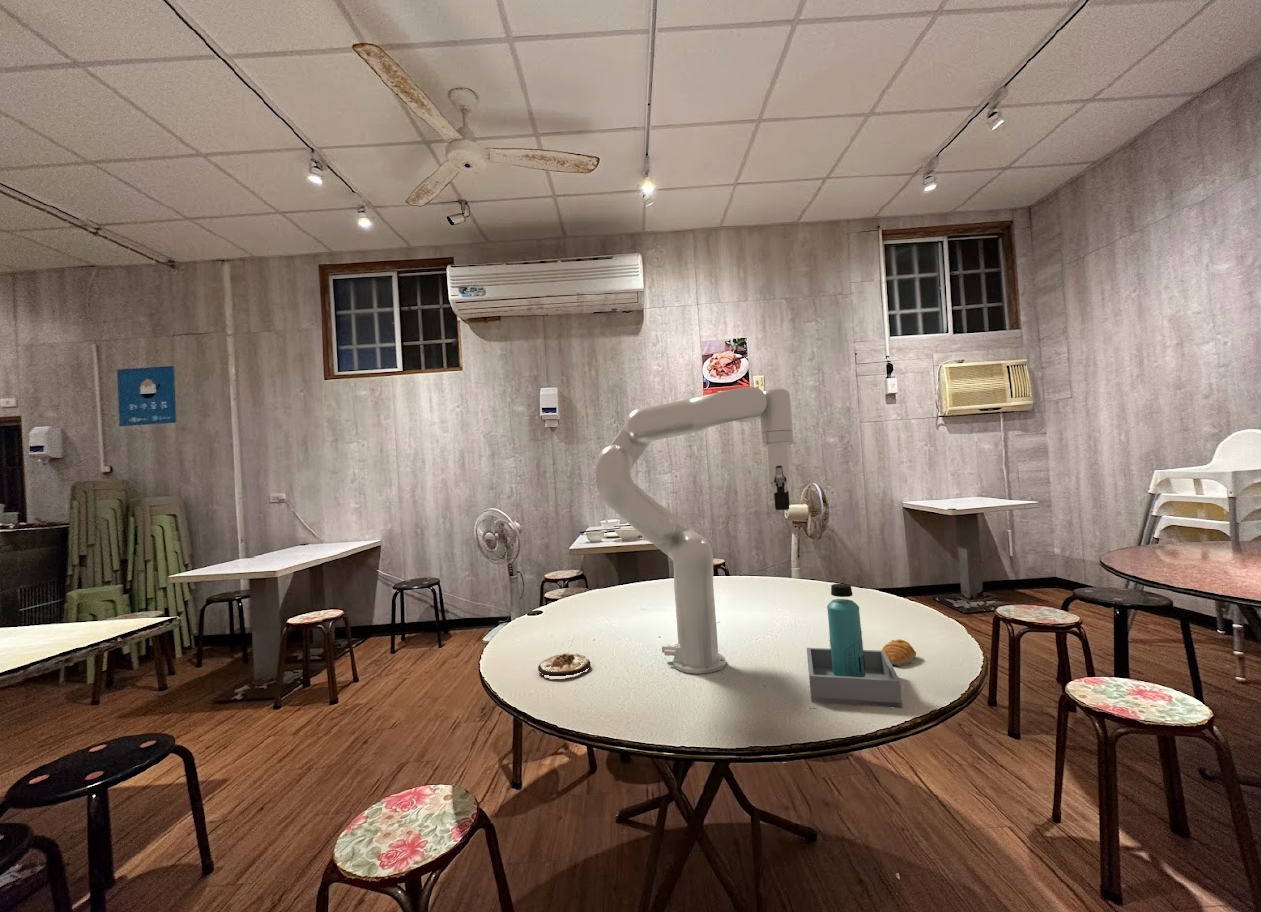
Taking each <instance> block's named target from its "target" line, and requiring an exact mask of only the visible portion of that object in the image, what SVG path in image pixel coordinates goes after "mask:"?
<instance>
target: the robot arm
mask: <svg viewBox="0 0 1261 912" xmlns="http://www.w3.org/2000/svg"><path fill="white" fill-rule="evenodd" d="M792 419H793V417H792V405H791V394H790V392H789V391H788V390H787V389H786V388H773V389H772V388H771V389H766V390H764V391H763V390H762V389H760V388H758V387H755V386H744V387H738V388H734V389H729V390H722V391H718V392H714V393H710V394H705V395H702V396H701V395H700V396H696V397H692V398H688V399H682V400H677V401H672V402H667V403H661V404H657V405H656V404H655V405H651V406H645V407H640V408H636V409H634V410H633V411H631V412H630V413H629V414H628V415H627V418H626V420H625V423H624V424H623V425H622V428H621V429H620V430H619V432H618V433H617V435H616V436H615V437H614V439H613V440H612V441H611V442H610V444H609V445H608V446H606V447H605V448H603V449H602V450H601V451H600V453H599V454H598V458H597V460H596V465H595V472H594V473H595V475H594V477H595V484H596V488H597V491H598V494H599V495H600V497H601V498H602V500H603V502H604V503H605V504H606V505H607V506H608V507H609V508H610V509H611V510H612V511H613V512H614V513H615V514H617V515H618V516H619V517H620V518H621V519H622V520H624V521H625V522H626V523H627V524H628V525H629V526H631V527H632V528H633V529H634V530H635V531H637V532H638V533H639V534H640V535H641V537H642V538H643V539H644V540H646V541H647V542H649V543H651V544H653V546H655V547H657V548H658V549H659V550H660V551H661V552H662V553H664V554H665V555H667V557H669V559H671V561H672V562H673V564H672V565H673V588H674V589H673V590H674V602H675V615H676V616H675V617H676V629H677V643H674V645H670V644H662V645H661V652H662V654H664V656H665V657H666V656H668V657H670V656H672V657H673V660H672V663H673V667H674V668H675V669H676V670H678V671H680V672H683V673H686V674H687V673H688V674H694V675H695V674H696V675H697V674H698V675H699V674H701V675H702V674H711V673H714V672H717V671H719V670H721V669H723V668H724V667H725V666H726V657H725V656H724V655H722V653H719V645H718V643H719V642H718V630H717V628H718V627H717V617H716V615H717V614H716V604H715V603H716V602H715V591H714V590H715V589H714V553H713V549H712V547H711V544H710V543H709V542H708V540H707V539H706V538H705V537H704V536H703V535H701V534H699V533H697V532H696V531H695V530H694V529H692V528H691V527H690V526H688V525H687V524H686V523H685V522H684V521H683V520H681V519H680V518H679V517H677V516H676V515H675V514H674V513H673V512H672V511H671V510H670V509H669V508H667V507H666V506H664V505H662V504H660V503H659V502H658V501H656V500H655V499H654V498H653V497H651V496H650V495H648V494H647V492H645V491H644V490H643V489H642V488H641V487H640V486H638V484H637V483H635V481H634V480H633V478H632V476H631V470H632V468H633V467H634V466H635V464H636V463H637V462H638V460H639V459H640V457H642V455H643V454H644V452H645V451H646V450H647V448H648V447H649V445H650V444H651V443H652V442H653V441H654V442H655V441H660V440H664V439H668V438H673V437H679V436H686V435H691V434H694V433H695V434H696V433H698V432H699V433H700V432H702V431H704V430H706V429H708V428H712V427H715V426H718V425H723V424H726V423H732V422H737V423H746V422H751V421H757V420H759V421H760V430H761V431H760V432H761V443H762V444H761V446H762V447H766V465H767V476H768V477H767V478H768V479H767V480H768V482H767V483H768V485H769V486H772V485H773V484H774V492H773V497H774V498H773V499H774V509H775V511H787V510H790V493H789V490H788V485H789V484H790V480H791V461H790V445H795V444H794V443H795V442H794V432H793V430H794V429H793V420H792Z"/></svg>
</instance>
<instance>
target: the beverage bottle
mask: <svg viewBox="0 0 1261 912" xmlns="http://www.w3.org/2000/svg"><path fill="white" fill-rule="evenodd" d="M830 589H831V590H830V595H831V596H834V597H838V598H836V599H832V600H831V601H830V602H829V603H828V604H827V606H826V609H827V616H828V620H827V621H828V630H829V631H828V632H829V633H828V634H829V647H830V649H831V650H830V652H831V660H832V662H831V663H832V664H831V665H832V668H833V673H834V675H835V676H848V677H865V670H866V667H865V663H864V659H865V658H864V655H863V650H864V640H863V635H862V634H863V633H862V624H861V616H860V607H859V605H858V604H857V603H856V602H855V601H854V600H851V599H846V598H848V597H850V598H851V597H853V589H852V585H850V584H847V583H834V584H832V585H831V586H830Z"/></svg>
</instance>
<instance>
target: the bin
mask: <svg viewBox="0 0 1261 912" xmlns="http://www.w3.org/2000/svg"><path fill="white" fill-rule="evenodd" d="M830 650H831V648H824V647H821V648H820V647H806V655H807V669H808V670H807V671H808V678H809V687H810V689H809V691H810V699H811V703H822V704H834V705H835V704H836V705H849V706H850V705H853V706H863V705H864V706H865V707H877V706H878V708H879V707H880V708H881V707H882V708H891V707H894V708H893V709H903V699H902V698H903V697H902V688H901V687H902V685H901V680H900V678H899V676H898V674H897V672H896V670H895V668H894V667H893V666H894V665H893V664H891V663H890V661H889V659H888V657H887V655H886V653H885V651H882V650H876V649H873V650H872V649H871V650H870V649H863V655H864V658H865V659H864V663H865V667H866V670H865V677H848V676H835V675H834V673H833V668H832V665H831V664H832V663H831V662H832V660H831V652H830Z"/></svg>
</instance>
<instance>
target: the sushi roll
mask: <svg viewBox="0 0 1261 912" xmlns="http://www.w3.org/2000/svg"><path fill="white" fill-rule="evenodd" d="M581 660H582V661H581ZM549 663H550V664H549ZM581 663H584V664H582V666H580V665H581ZM550 666H551V668H550V669H545V668H546V667H550ZM589 667H590V668H591V661H590V659H589V658H588V657H587V656H586V655H584V654H580V653H575V654H573V653H571V654H570V651H569V652H568V653H567V652H565V653H561V654H555V655H553V656H551V657H548V658H546V659H544V660H542V661H541V662H540V663H539V664H538V666H537V670H538V673H540V672H541V673H542V674H543V675H549V676H566V675H574V674H577V673H580V672H583V671H585V670H586V669H588V668H589ZM546 670H547V671H546ZM548 670H549V671H548ZM551 671H552V672H551Z"/></svg>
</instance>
